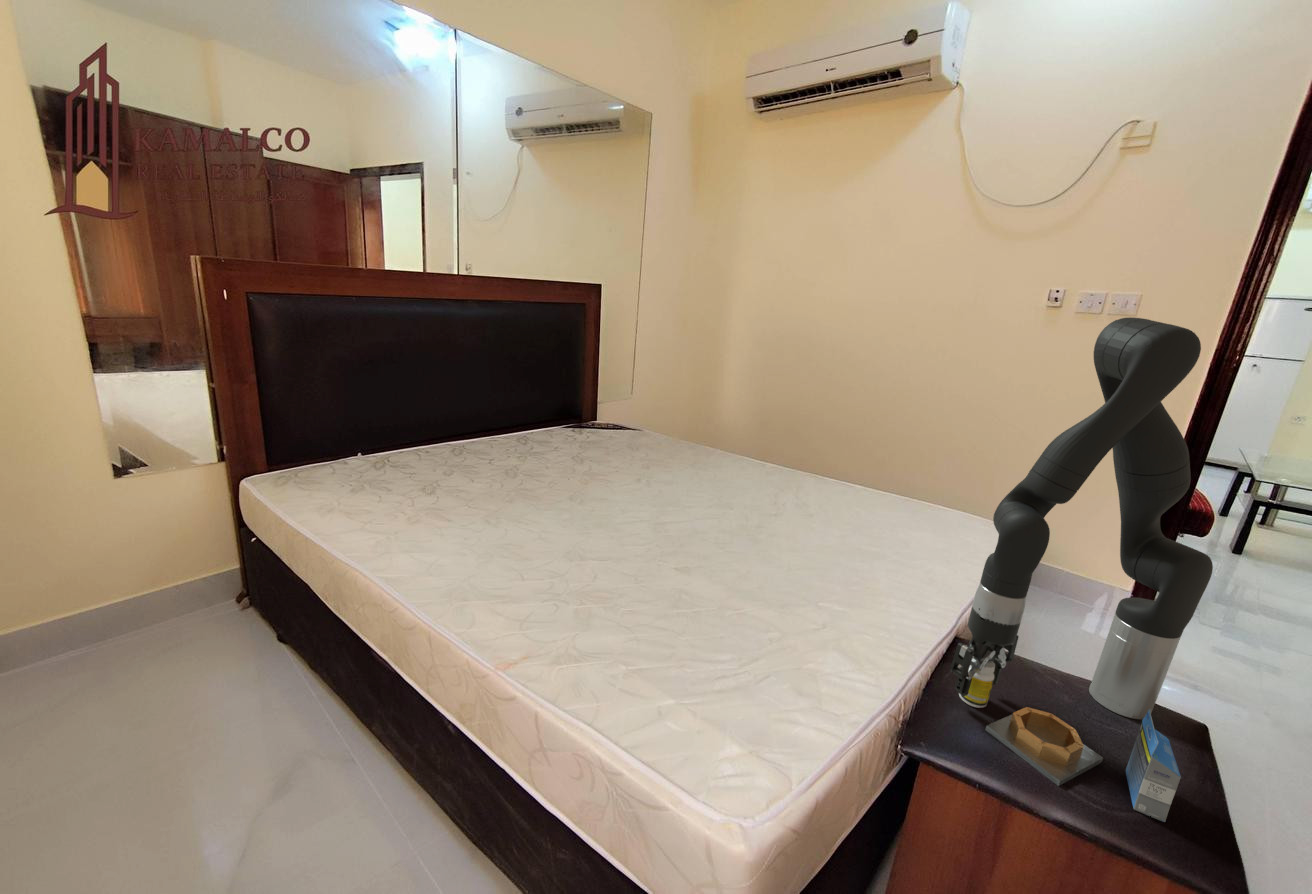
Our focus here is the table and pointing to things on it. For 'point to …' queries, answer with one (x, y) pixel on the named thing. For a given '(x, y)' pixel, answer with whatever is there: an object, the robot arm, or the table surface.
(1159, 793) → the label tape box
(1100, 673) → the robot arm
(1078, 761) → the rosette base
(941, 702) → the table surface
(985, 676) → the supplement bottle
